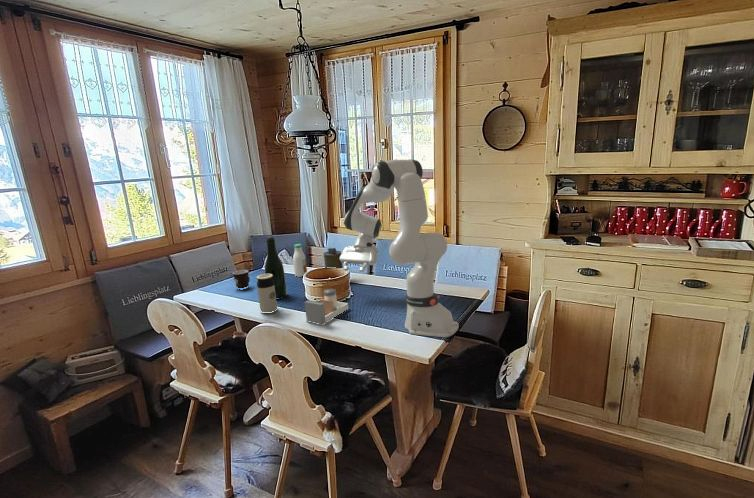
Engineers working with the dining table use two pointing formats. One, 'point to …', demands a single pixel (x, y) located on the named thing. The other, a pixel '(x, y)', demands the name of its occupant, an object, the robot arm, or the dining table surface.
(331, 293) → the jar
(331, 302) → the spring pusher
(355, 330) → the dining table surface
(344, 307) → the pusher lane
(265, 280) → the travel mug
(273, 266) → the wine bottle
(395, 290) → the dining table surface
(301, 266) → the milk bottle
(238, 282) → the coffee mug
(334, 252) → the canister
